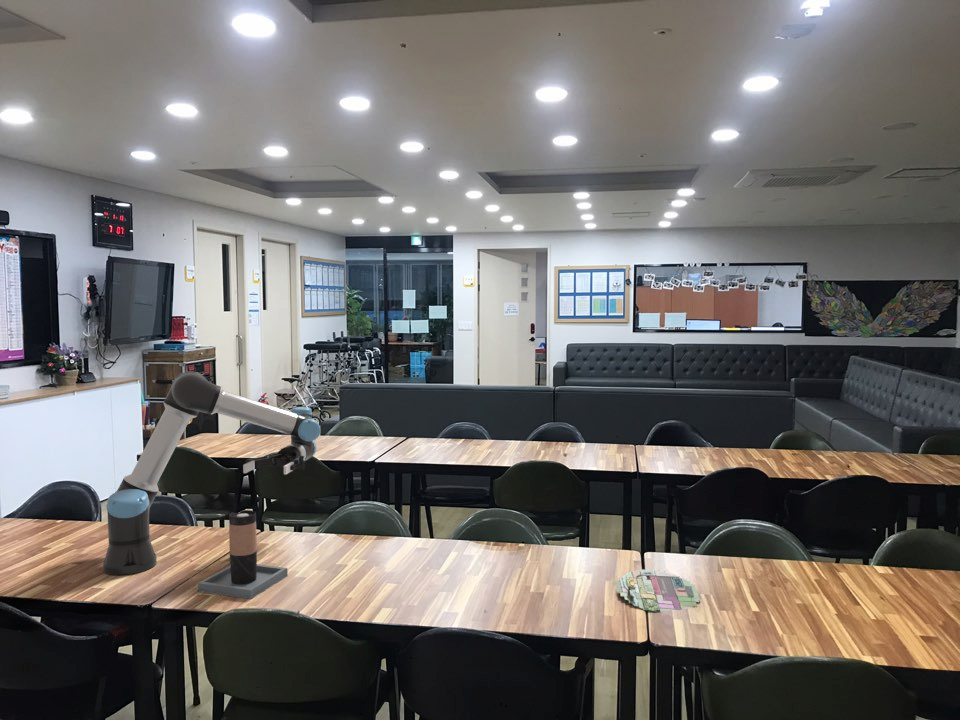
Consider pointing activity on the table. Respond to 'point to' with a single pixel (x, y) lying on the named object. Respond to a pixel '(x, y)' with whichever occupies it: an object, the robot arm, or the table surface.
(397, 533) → the table surface
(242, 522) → the travel mug
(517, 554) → the table surface
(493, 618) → the table surface
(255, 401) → the robot arm
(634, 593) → the city model
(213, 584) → the slate tray
